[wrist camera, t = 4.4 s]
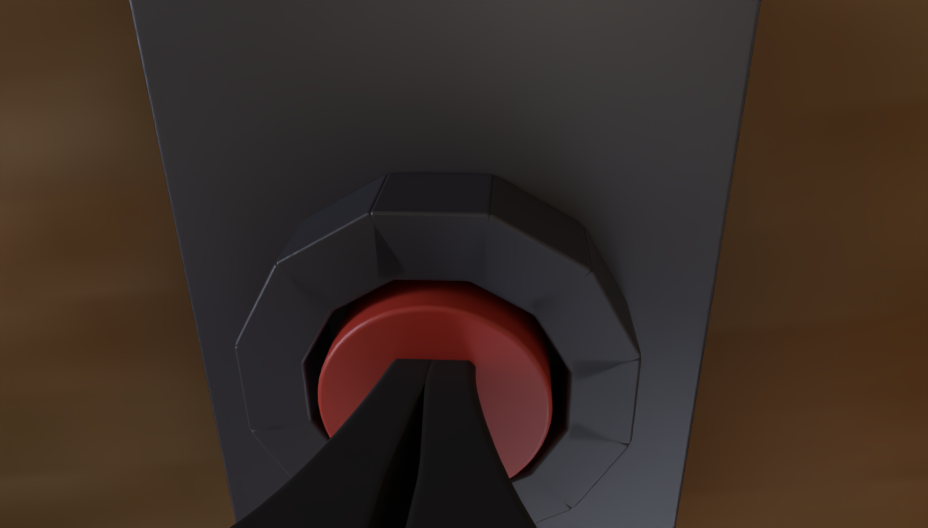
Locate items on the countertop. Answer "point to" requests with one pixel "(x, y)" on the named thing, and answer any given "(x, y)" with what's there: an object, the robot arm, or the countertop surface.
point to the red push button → (446, 356)
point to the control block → (456, 208)
